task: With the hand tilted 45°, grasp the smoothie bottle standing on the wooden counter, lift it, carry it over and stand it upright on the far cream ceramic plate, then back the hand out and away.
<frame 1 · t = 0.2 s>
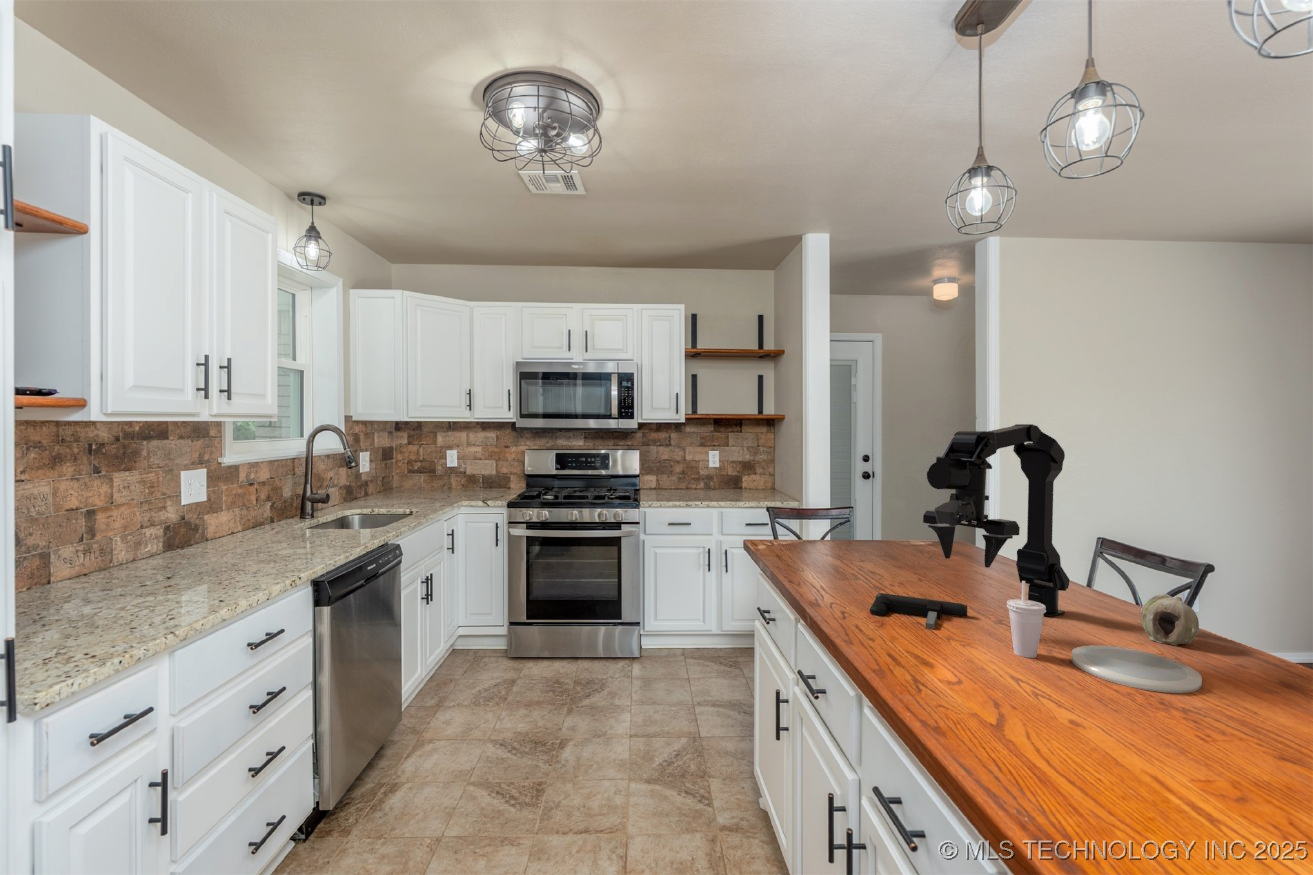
hand: (966, 562, 127), 14 cm above the counter, tool pointing down, fingers open, 9 cm apart
plate: (1133, 670, 106), on the counter
olive hollow round lump: (1170, 642, 121), on the counter
door handle: (917, 619, 136), on the counter
smoothie: (1025, 655, 113), on the counter
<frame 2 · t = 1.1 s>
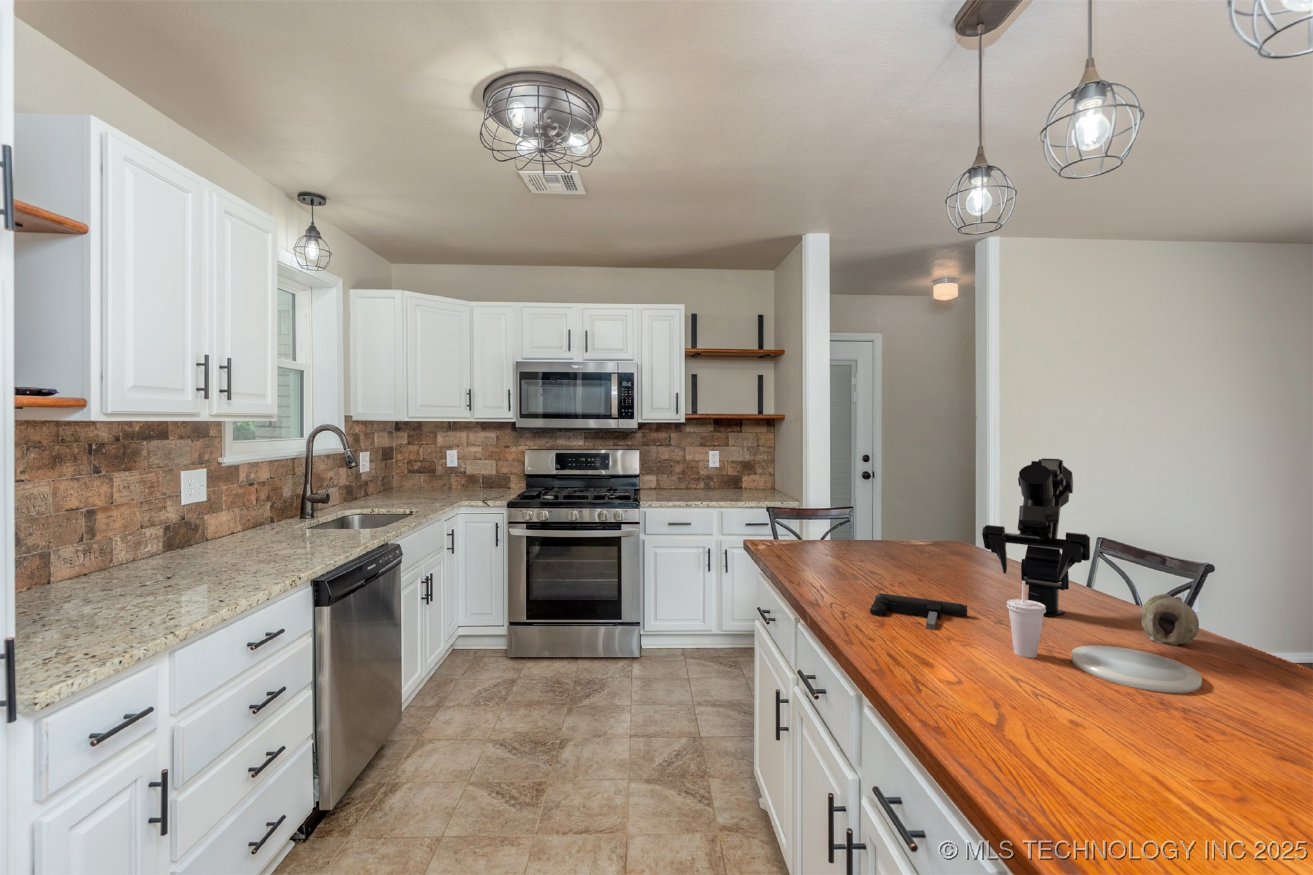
hand: (1030, 575, 119), 13 cm above the counter, tool tilted 45°, fingers open, 9 cm apart
nothing on the counter moved.
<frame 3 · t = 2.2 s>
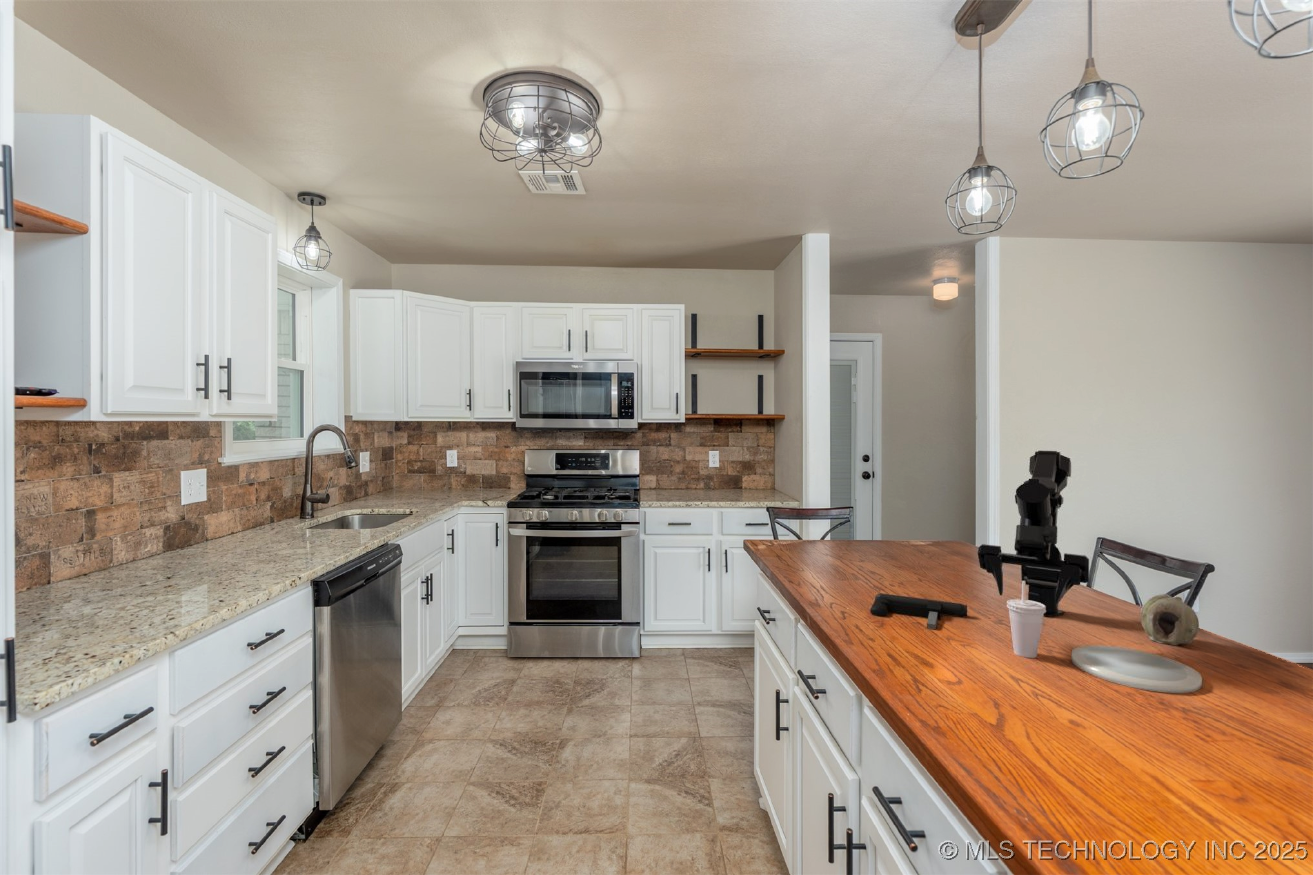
hand: (1027, 598, 115), 10 cm above the counter, tool tilted 45°, fingers open, 9 cm apart
nothing on the counter moved.
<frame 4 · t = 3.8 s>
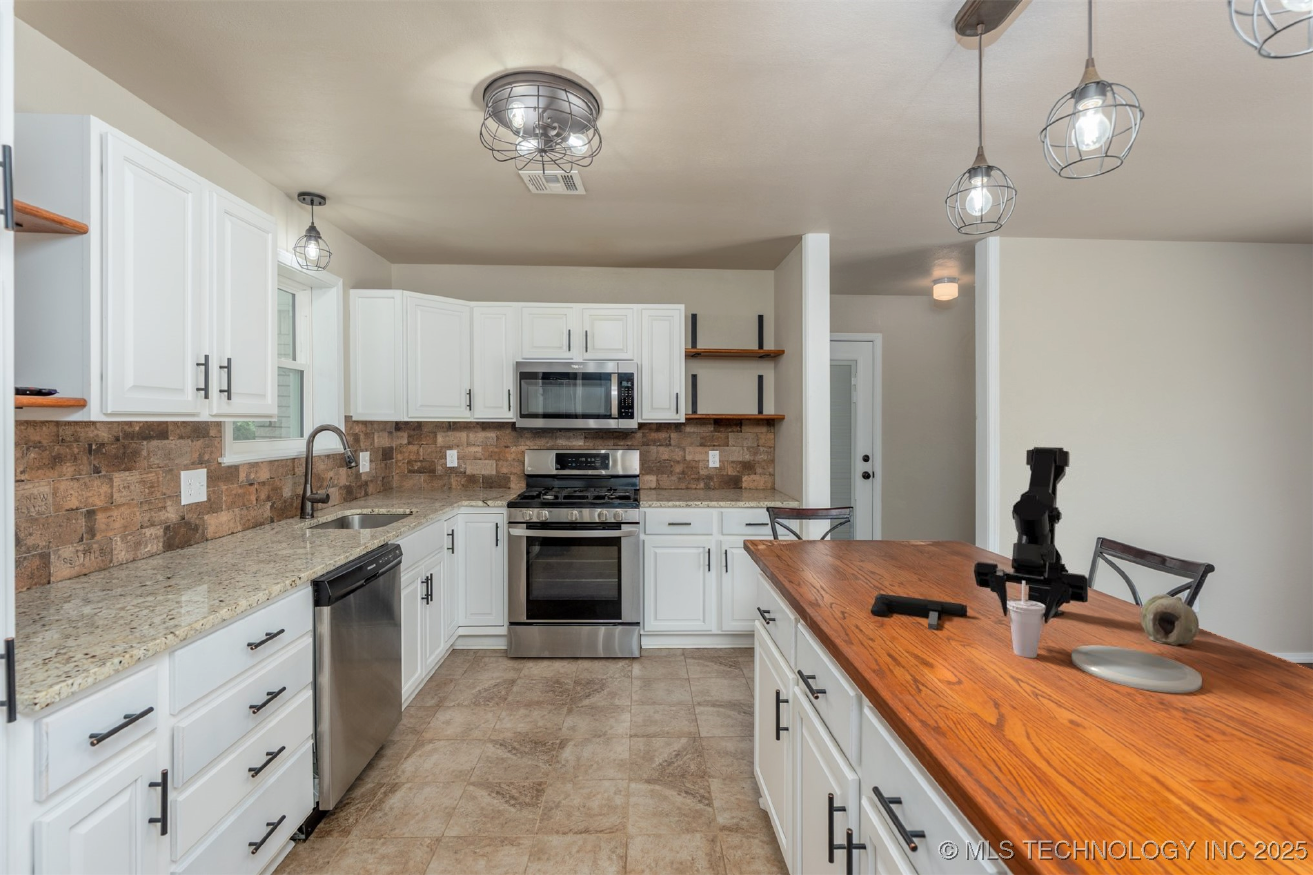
hand: (1025, 618, 112), 7 cm above the counter, tool tilted 45°, fingers closed on smoothie, 6 cm apart
smoothie: (1025, 655, 113), on the counter, touching gripper
everything else where it was.
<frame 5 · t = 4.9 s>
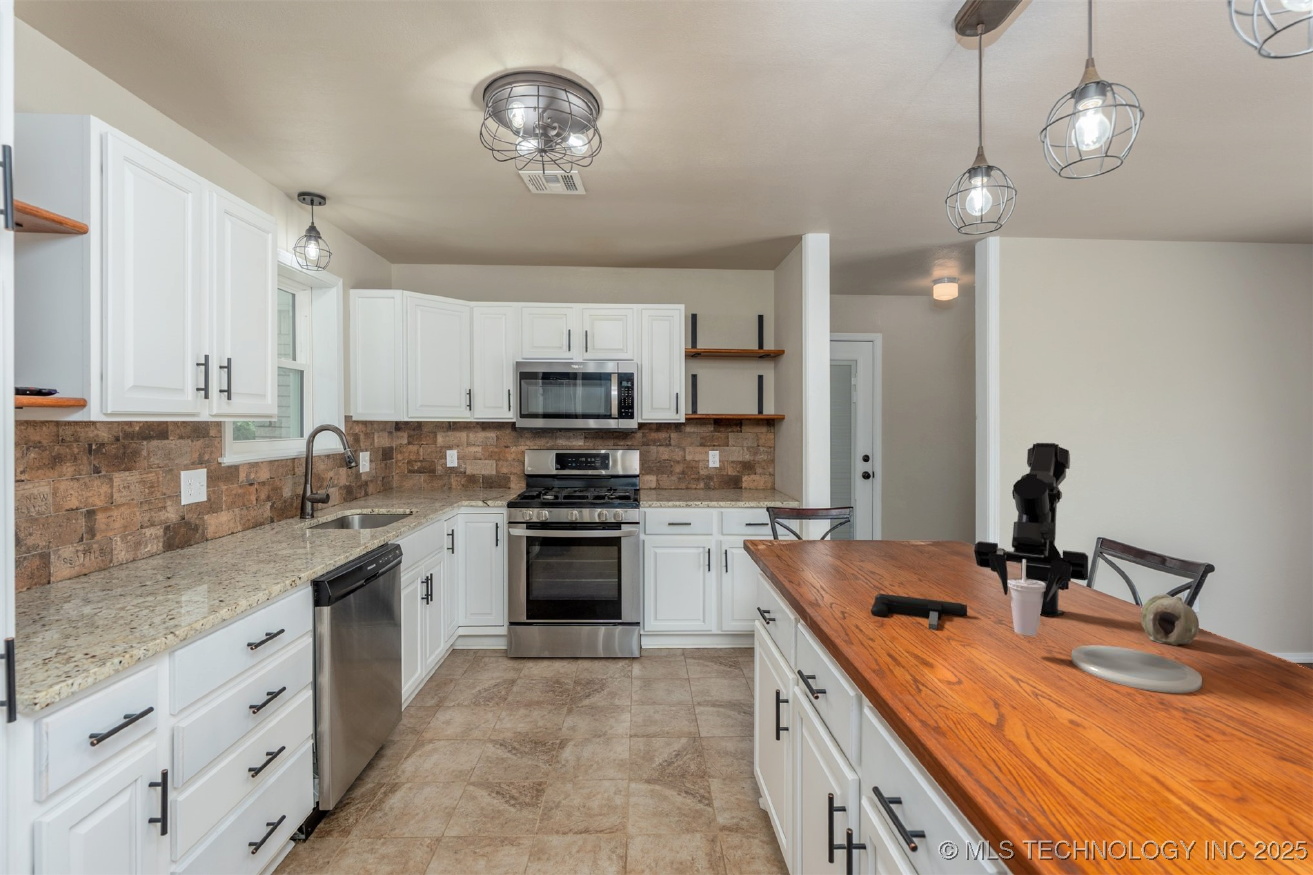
hand: (1025, 597, 112), 11 cm above the counter, tool tilted 45°, fingers closed on smoothie, 6 cm apart
smoothie: (1025, 633, 113), point 4 cm above the counter, touching gripper
everything else where it was.
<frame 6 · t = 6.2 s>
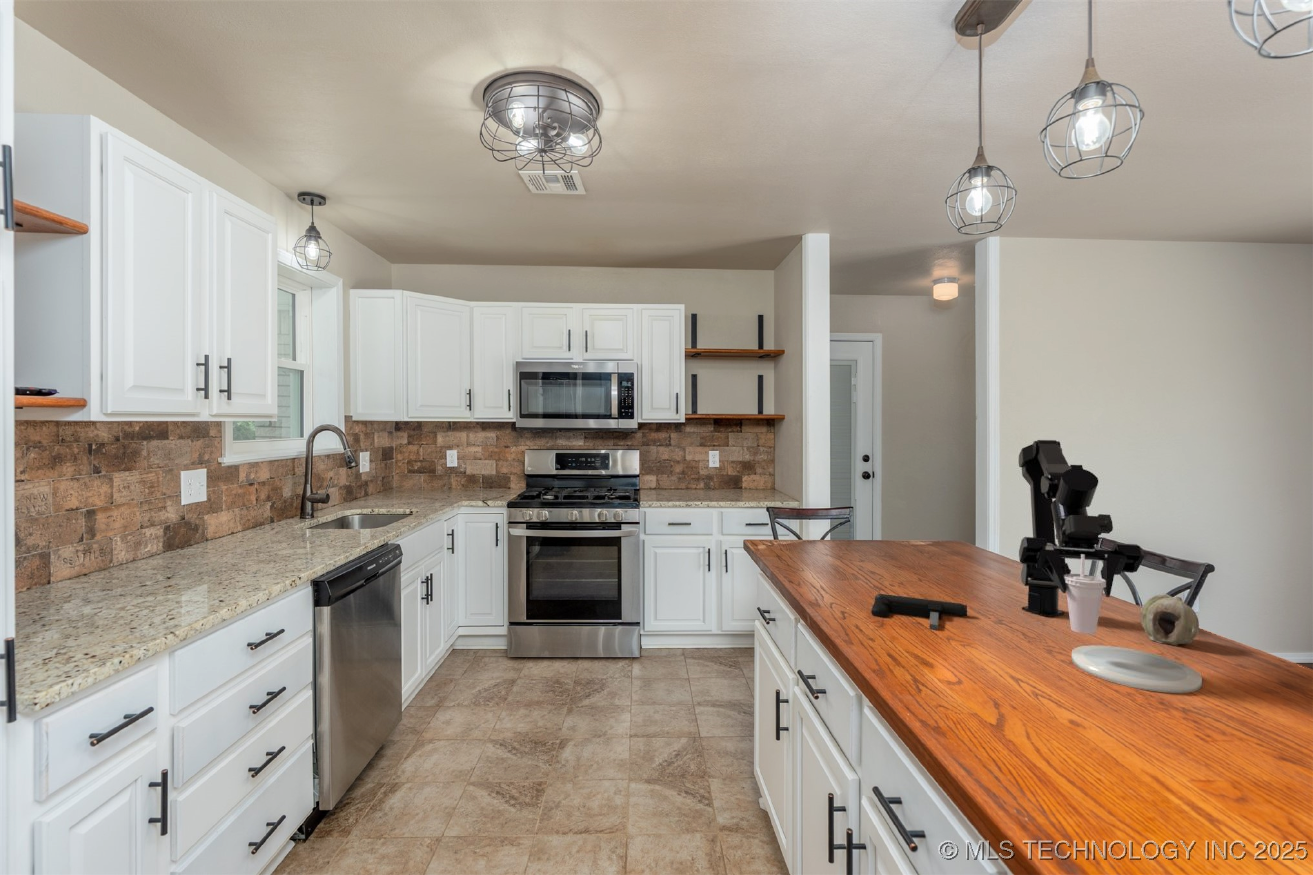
hand: (1086, 593, 107), 13 cm above the counter, tool tilted 45°, fingers closed on smoothie, 6 cm apart
smoothie: (1083, 631, 108), point 6 cm above the counter, touching gripper
everything else where it was.
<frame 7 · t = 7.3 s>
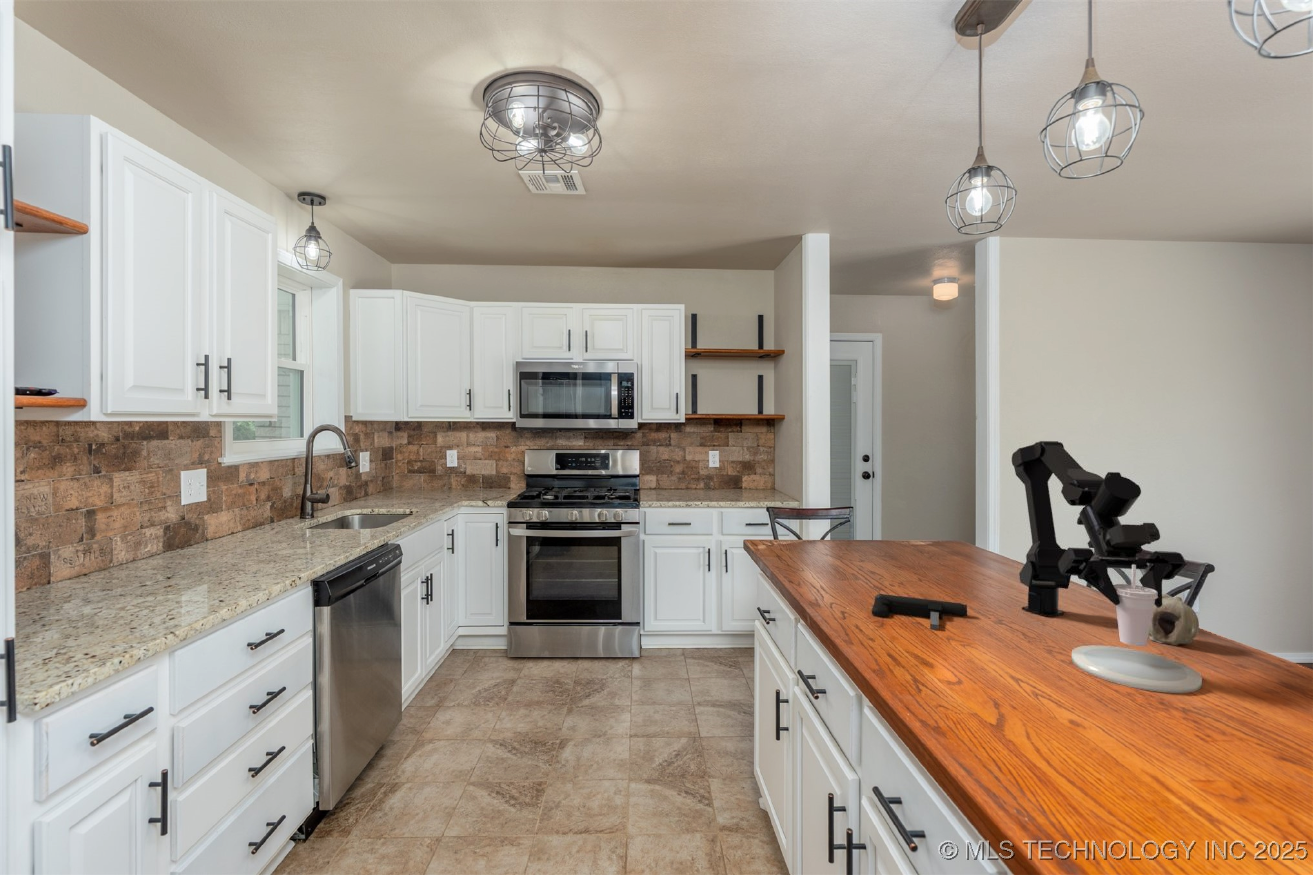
hand: (1138, 605, 104), 12 cm above the counter, tool tilted 45°, fingers closed on smoothie, 6 cm apart
smoothie: (1133, 643, 106), point 5 cm above the counter, touching gripper
everything else where it was.
when the fingers open (9 cm above the counter, at t = 8.3 s): smoothie drops 1 cm, resting on plate.
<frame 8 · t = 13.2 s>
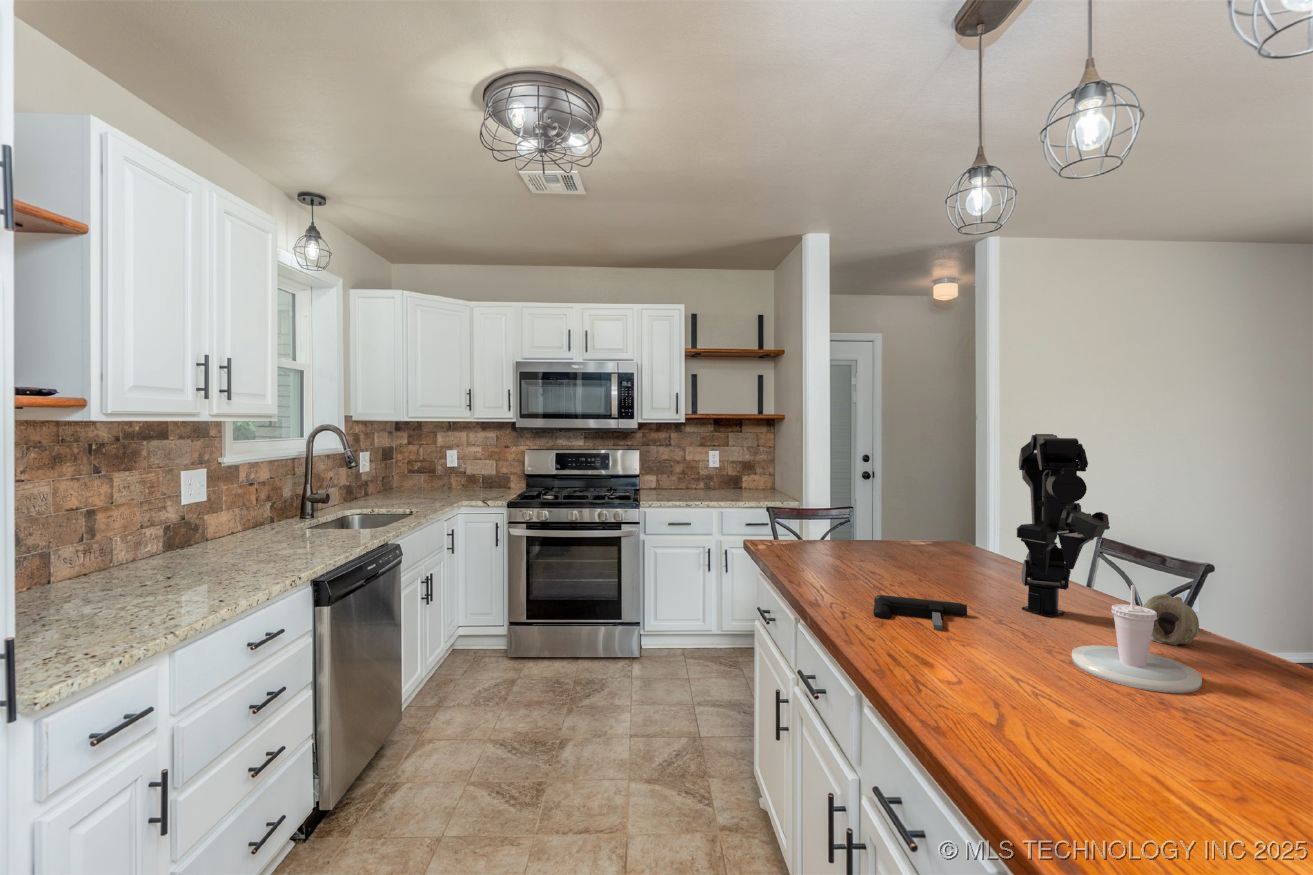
hand: (1057, 571, 125), 13 cm above the counter, tool pointing down, fingers open, 9 cm apart
smoothie: (1132, 664, 106), point 1 cm above the counter, touching plate
everything else where it was.
at the end: smoothie inside the target area on the plate (0.1 cm from its centre), point 1.1 cm above the plate's base; smoothie tilted 0°; the gripper is holding nothing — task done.
